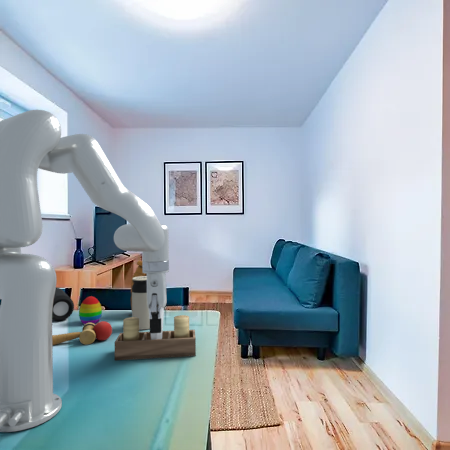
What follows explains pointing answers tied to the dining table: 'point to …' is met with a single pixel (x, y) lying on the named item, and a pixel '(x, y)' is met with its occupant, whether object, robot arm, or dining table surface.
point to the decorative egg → (90, 310)
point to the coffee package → (137, 275)
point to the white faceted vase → (159, 335)
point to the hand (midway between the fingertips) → (156, 329)
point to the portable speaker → (61, 305)
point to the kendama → (86, 333)
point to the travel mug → (140, 302)
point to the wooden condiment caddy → (155, 341)
